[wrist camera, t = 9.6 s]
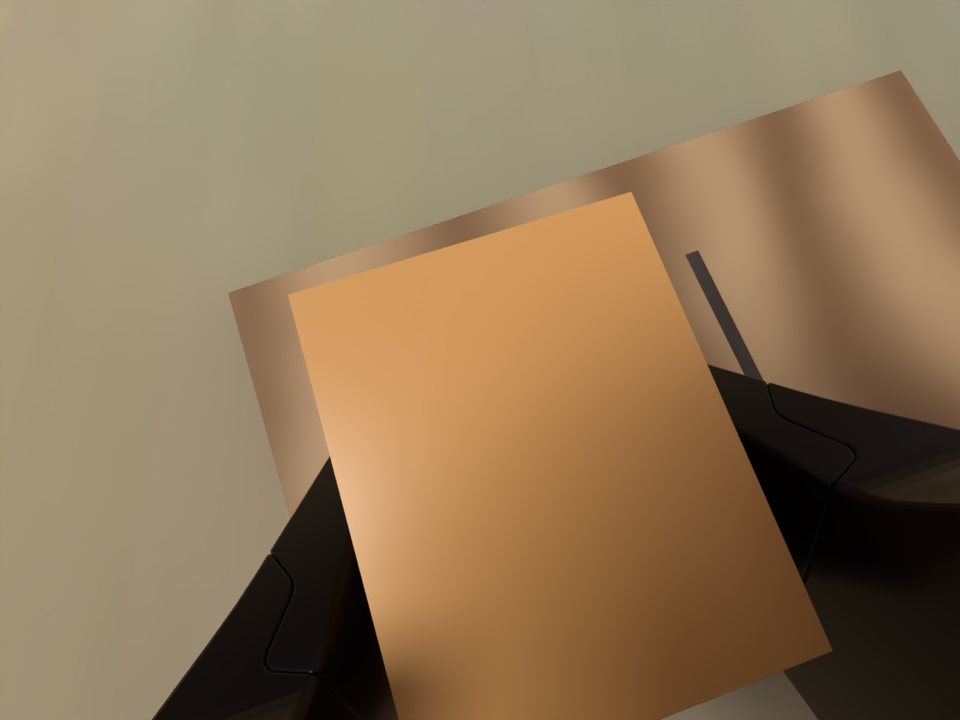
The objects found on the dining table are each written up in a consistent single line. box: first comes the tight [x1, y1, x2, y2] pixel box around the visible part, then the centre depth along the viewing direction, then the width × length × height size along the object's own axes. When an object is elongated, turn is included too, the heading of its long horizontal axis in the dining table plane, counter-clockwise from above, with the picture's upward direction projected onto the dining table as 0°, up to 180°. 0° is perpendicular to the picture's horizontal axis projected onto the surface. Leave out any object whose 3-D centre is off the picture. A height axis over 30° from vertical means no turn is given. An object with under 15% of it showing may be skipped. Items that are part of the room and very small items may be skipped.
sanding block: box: [288, 192, 833, 720], centre depth 10 cm, size 8×7×10 cm
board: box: [228, 70, 960, 518], centre depth 16 cm, size 26×16×1 cm, turn 110°
